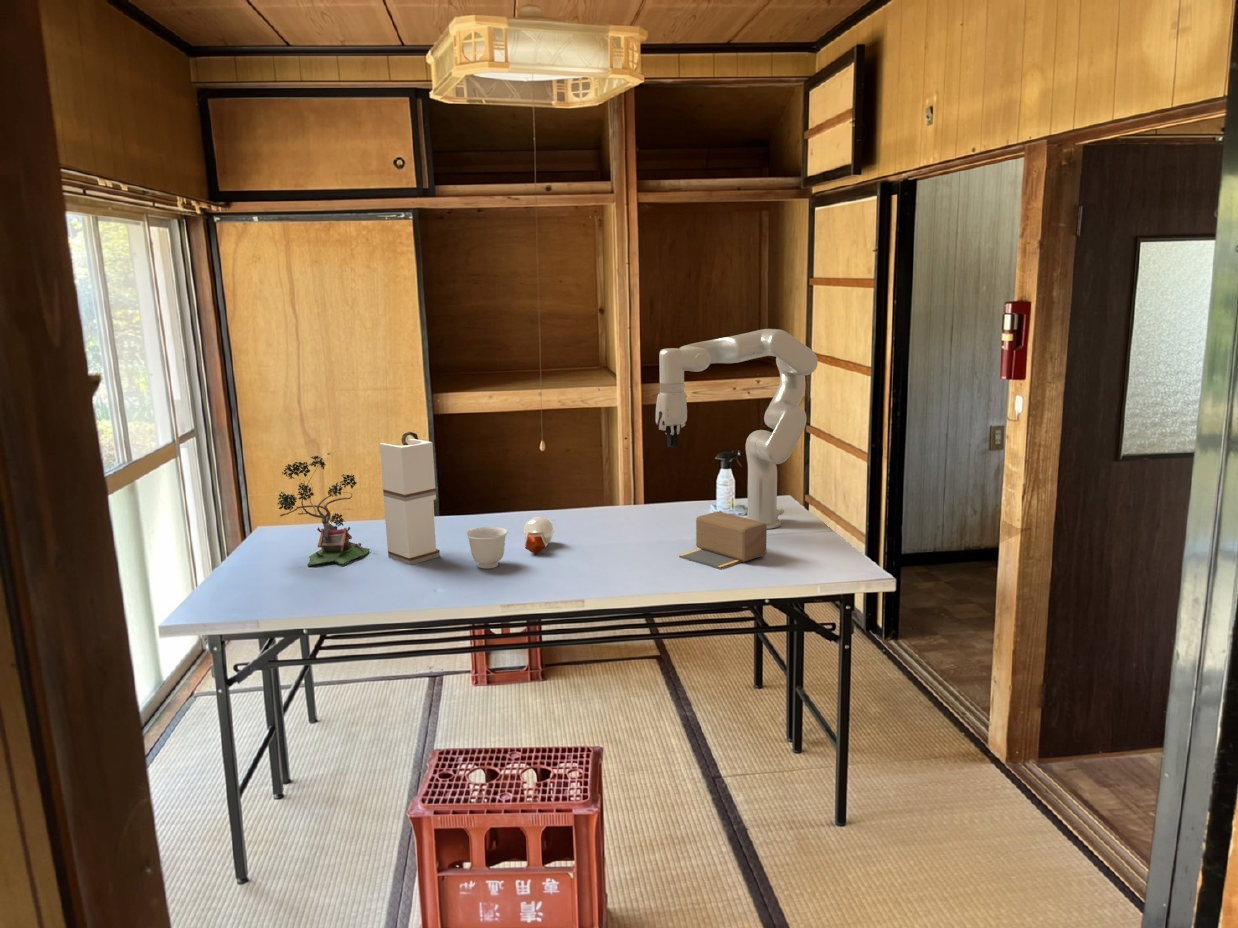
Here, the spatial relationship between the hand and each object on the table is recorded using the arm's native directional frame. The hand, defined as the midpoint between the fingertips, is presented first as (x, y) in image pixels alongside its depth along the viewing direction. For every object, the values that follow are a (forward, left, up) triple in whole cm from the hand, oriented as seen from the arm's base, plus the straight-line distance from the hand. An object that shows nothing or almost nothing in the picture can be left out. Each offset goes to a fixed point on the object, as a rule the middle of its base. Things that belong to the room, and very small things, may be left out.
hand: (672, 446), depth 272 cm
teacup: (+59, -19, -29) cm, 69 cm away
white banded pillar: (+70, -41, -29) cm, 86 cm away
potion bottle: (+38, -21, -29) cm, 52 cm away
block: (+2, +15, -23) cm, 28 cm away
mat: (+6, +25, -29) cm, 39 cm away
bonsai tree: (+92, -57, -29) cm, 112 cm away
